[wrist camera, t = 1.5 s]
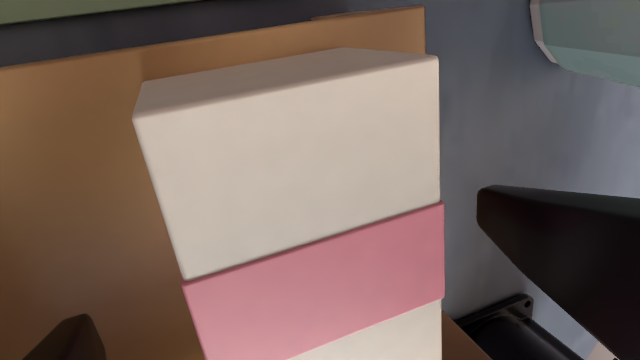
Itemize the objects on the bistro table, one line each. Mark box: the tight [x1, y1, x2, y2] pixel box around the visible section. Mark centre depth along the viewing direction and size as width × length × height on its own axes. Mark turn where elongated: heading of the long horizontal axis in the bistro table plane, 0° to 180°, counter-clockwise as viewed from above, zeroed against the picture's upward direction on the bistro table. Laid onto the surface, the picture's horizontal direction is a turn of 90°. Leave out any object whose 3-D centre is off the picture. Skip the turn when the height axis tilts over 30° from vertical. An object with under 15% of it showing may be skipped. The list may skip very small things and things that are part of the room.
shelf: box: [0, 5, 492, 360], centre depth 10 cm, size 20×11×10 cm, turn 100°
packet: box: [132, 47, 445, 360], centre depth 9 cm, size 5×8×4 cm, turn 10°
